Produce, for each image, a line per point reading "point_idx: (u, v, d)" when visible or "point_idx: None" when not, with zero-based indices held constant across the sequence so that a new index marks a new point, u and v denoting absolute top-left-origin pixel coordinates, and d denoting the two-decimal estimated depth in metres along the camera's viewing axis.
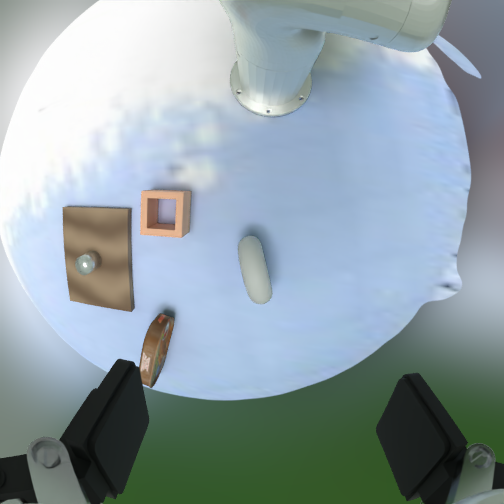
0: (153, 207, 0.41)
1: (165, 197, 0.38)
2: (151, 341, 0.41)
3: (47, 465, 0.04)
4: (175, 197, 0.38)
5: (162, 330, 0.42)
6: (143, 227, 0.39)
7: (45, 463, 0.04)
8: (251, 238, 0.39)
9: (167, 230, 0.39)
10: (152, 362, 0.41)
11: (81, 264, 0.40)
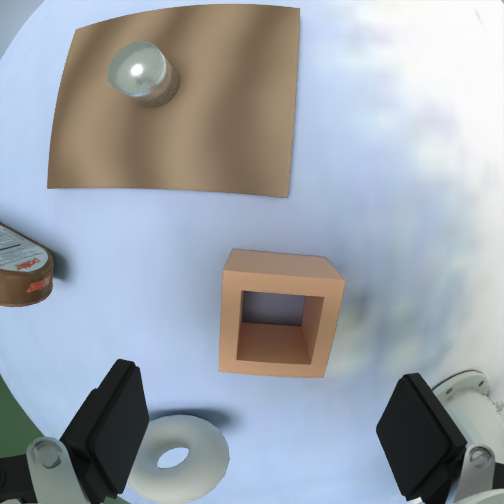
0: None
1: (319, 341, 0.15)
2: None
3: (48, 466, 0.04)
4: (315, 362, 0.16)
5: (15, 302, 0.14)
6: (244, 281, 0.15)
7: (45, 463, 0.04)
8: None
9: (235, 342, 0.15)
10: None
11: (137, 60, 0.12)
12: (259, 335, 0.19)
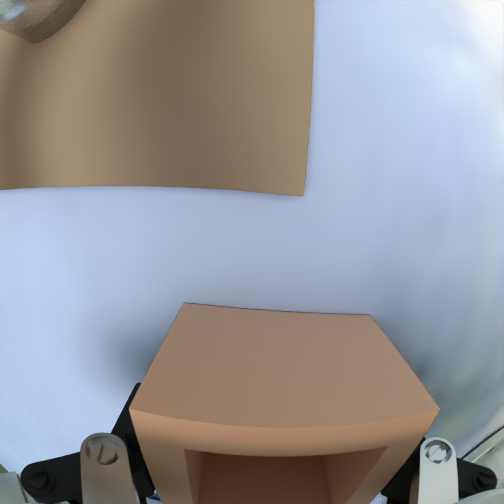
0: None
1: (356, 496, 0.05)
2: None
3: (101, 461, 0.05)
4: None
5: None
6: (188, 436, 0.04)
7: (99, 458, 0.05)
8: None
9: (189, 501, 0.05)
10: None
11: None
12: None
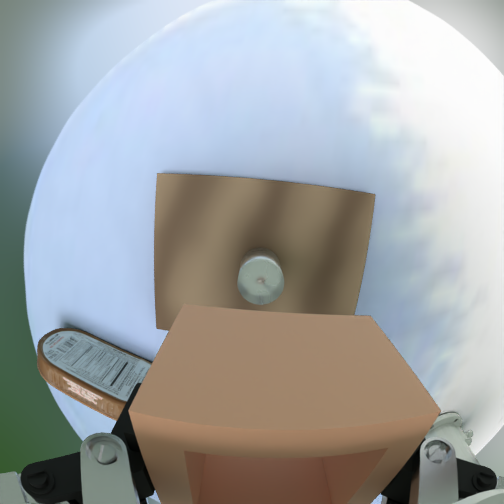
0: None
1: (356, 497, 0.05)
2: None
3: (101, 461, 0.05)
4: None
5: None
6: (187, 438, 0.04)
7: (99, 458, 0.05)
8: None
9: (189, 503, 0.05)
10: (89, 405, 0.20)
11: (264, 280, 0.19)
12: None
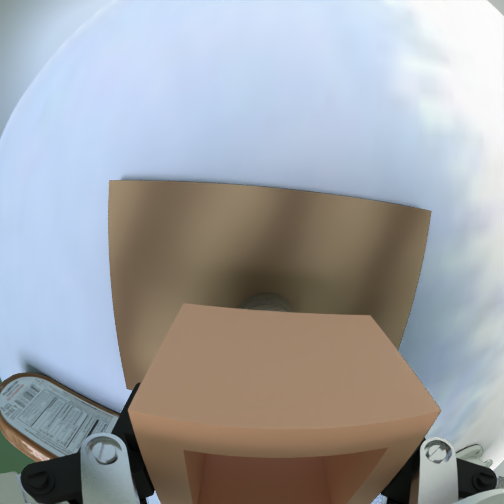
0: None
1: (356, 497, 0.05)
2: None
3: (101, 461, 0.05)
4: None
5: None
6: (187, 438, 0.04)
7: (99, 458, 0.05)
8: None
9: (189, 502, 0.05)
10: None
11: None
12: None
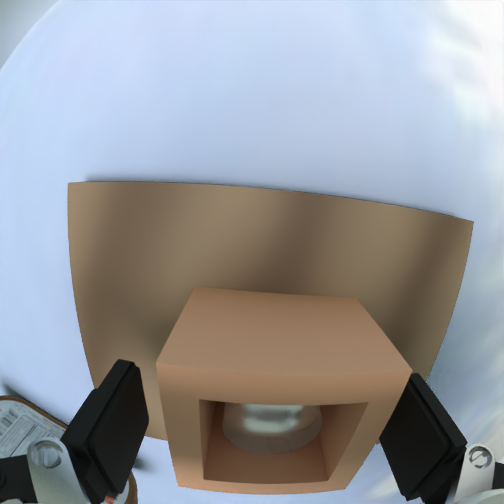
0: None
1: (346, 457, 0.07)
2: None
3: (48, 466, 0.04)
4: (335, 478, 0.07)
5: None
6: (203, 386, 0.06)
7: (45, 462, 0.04)
8: None
9: (199, 461, 0.07)
10: None
11: (281, 425, 0.08)
12: None
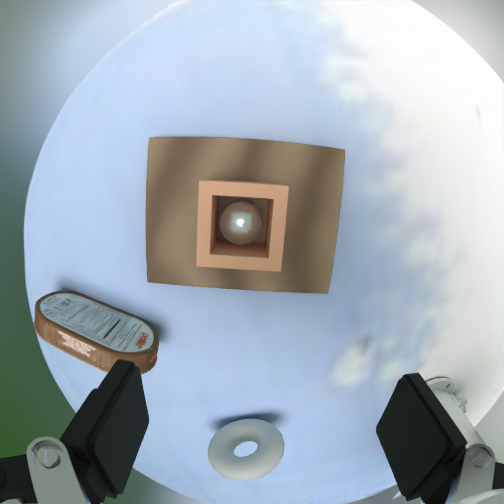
0: None
1: (273, 236, 0.21)
2: None
3: (48, 466, 0.04)
4: (272, 256, 0.21)
5: (142, 371, 0.24)
6: (214, 188, 0.20)
7: (45, 462, 0.04)
8: None
9: (208, 238, 0.21)
10: (83, 358, 0.22)
11: (243, 221, 0.22)
12: (229, 245, 0.24)
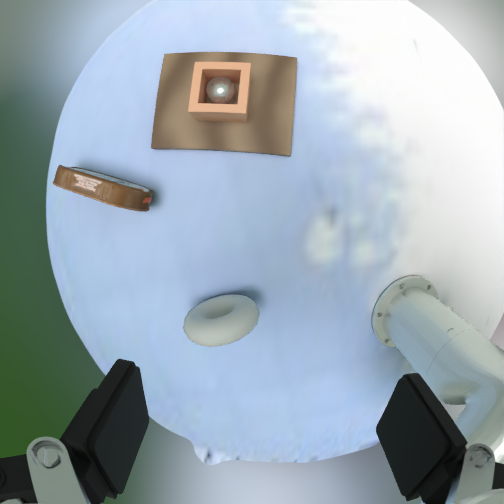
0: (228, 77, 0.29)
1: (240, 91, 0.28)
2: (118, 195, 0.29)
3: (48, 466, 0.04)
4: (240, 103, 0.28)
5: (134, 207, 0.31)
6: (203, 65, 0.27)
7: (45, 463, 0.04)
8: None
9: (198, 94, 0.28)
10: (89, 194, 0.29)
11: (222, 86, 0.28)
12: None
